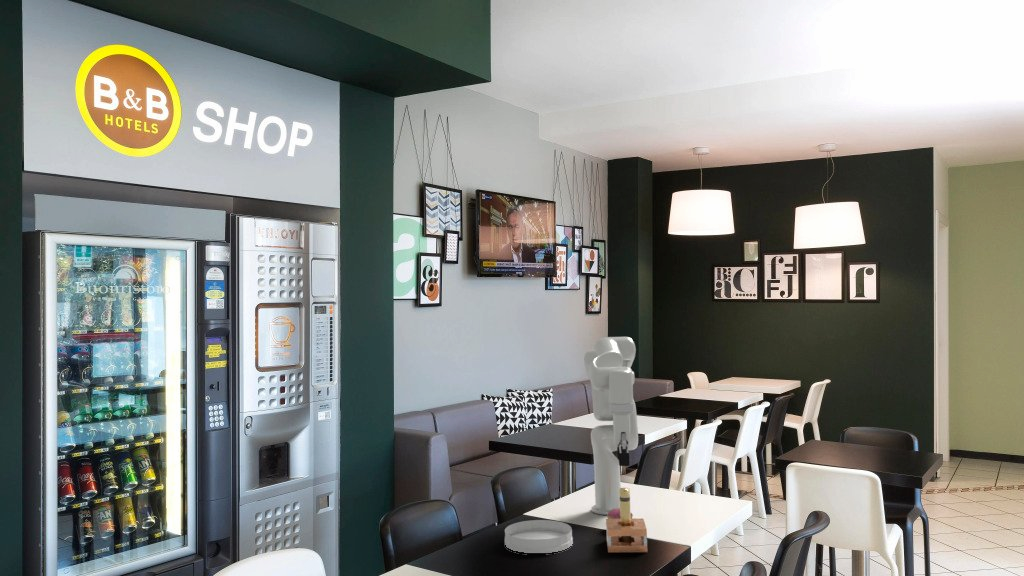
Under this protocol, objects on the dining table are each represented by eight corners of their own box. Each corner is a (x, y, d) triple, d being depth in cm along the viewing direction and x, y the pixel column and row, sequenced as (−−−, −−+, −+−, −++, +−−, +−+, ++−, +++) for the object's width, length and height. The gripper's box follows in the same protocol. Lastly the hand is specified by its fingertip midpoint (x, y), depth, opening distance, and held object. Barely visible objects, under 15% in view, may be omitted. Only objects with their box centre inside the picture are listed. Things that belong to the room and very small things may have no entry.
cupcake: (635, 526, 262) (633, 491, 263) (630, 534, 254) (629, 497, 255) (610, 525, 265) (609, 490, 266) (605, 532, 257) (603, 496, 258)
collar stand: (606, 540, 248) (606, 518, 249) (644, 540, 247) (643, 518, 248) (608, 552, 236) (607, 529, 237) (647, 552, 235) (646, 529, 236)
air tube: (621, 544, 244) (619, 487, 244) (631, 544, 243) (629, 487, 244) (621, 547, 241) (619, 490, 241) (632, 547, 240) (629, 490, 241)
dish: (561, 558, 233) (561, 542, 233) (494, 552, 241) (493, 536, 241) (580, 537, 254) (580, 522, 254) (518, 532, 261) (517, 517, 262)
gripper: (608, 404, 252) (610, 456, 252) (610, 412, 235) (612, 468, 235) (631, 404, 251) (633, 456, 251) (635, 412, 234) (637, 468, 234)
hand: (623, 462), depth 243 cm, fingers open, 9 cm apart
